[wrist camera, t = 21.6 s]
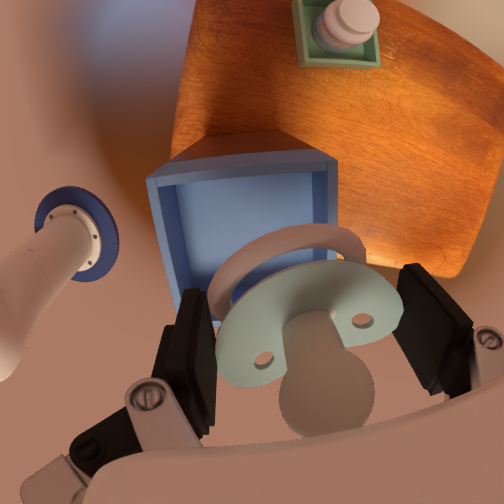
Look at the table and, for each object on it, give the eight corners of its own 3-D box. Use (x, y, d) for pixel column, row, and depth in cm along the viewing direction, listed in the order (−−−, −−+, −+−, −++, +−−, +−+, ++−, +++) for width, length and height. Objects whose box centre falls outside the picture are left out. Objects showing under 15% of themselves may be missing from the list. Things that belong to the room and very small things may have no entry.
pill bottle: (340, 12, 30) (371, -14, 20) (359, 48, 33) (395, 33, 23) (302, 22, 31) (322, -5, 21) (321, 59, 34) (348, 43, 24)
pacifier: (178, 265, 12) (243, 366, 14) (133, 390, 6) (246, 483, 8) (355, 189, 11) (387, 309, 13) (458, 264, 5) (450, 410, 7)
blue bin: (212, 206, 43) (180, 329, 20) (203, 136, 39) (145, 178, 15) (283, 199, 43) (332, 316, 20) (278, 129, 39) (337, 159, 15)
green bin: (298, 67, 35) (304, 62, 31) (290, 3, 30) (296, -8, 26) (367, 70, 35) (381, 66, 31) (360, 8, 30) (372, -1, 26)
